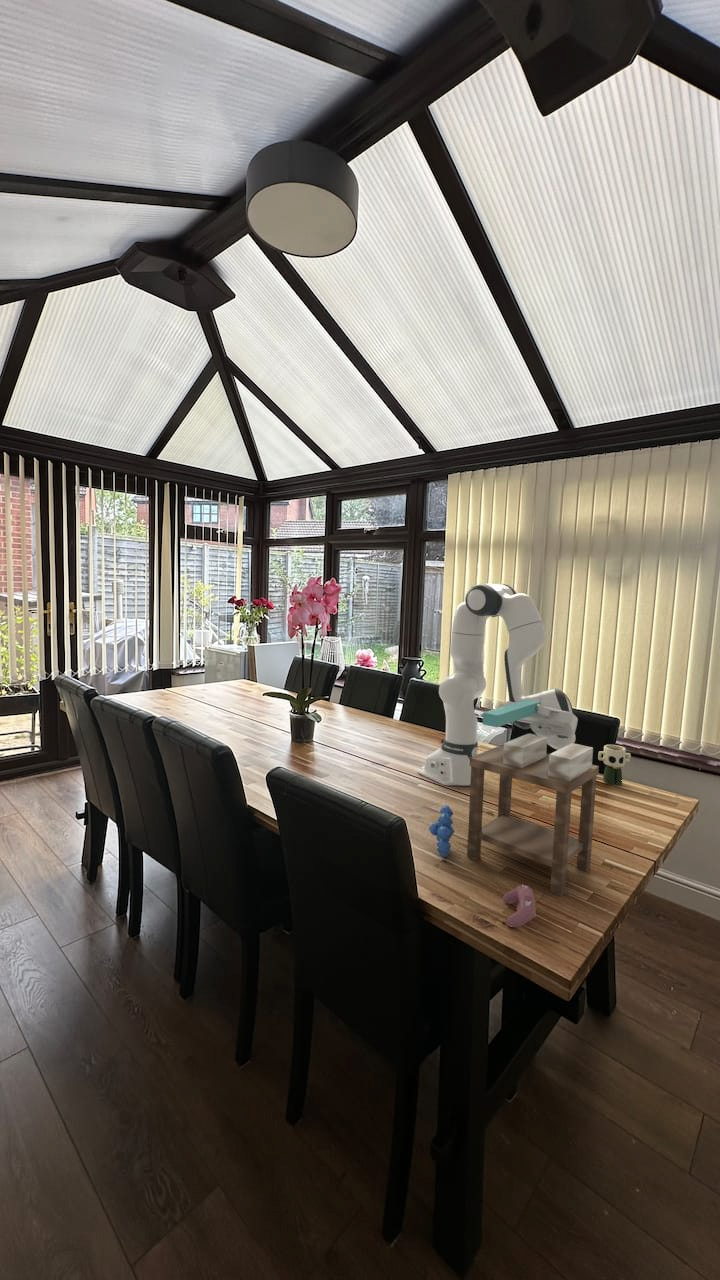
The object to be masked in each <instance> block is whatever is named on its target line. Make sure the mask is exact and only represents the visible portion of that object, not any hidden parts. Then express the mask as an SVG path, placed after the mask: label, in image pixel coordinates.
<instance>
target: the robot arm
mask: <svg viewBox="0 0 720 1280" xmlns="http://www.w3.org/2000/svg"><path fill="white" fill-rule="evenodd" d="M490 617H491V618H495V617H501V618H502V620H503V621H504V623H505V625H506V629H507V632H508V638H509V643H508V648H507V649H506V650H505V651H504V655H503V656H504V669H505V678H506V686H507V693H508V700H507V701H506V702H504V704H503V706H506V705H510V704H513V703H516V702H520V701H523V700H526V699H530V700H535V701H541V705H536V708H535V711H536V712H539V713H536V714H534V715H531V716H528V717H525V718H522V719H519V720H517V721H514V722H512V724H513V725H514V726H517V727H518V728H520V729H523V730H528V729H531V731H532V732H533V733H534V734H535V735H538V736H543V737H547V746H550V747H551V748H553V749H555V750H559V749H561V748H563V747H565V746H567V745H569V744H571V743H575V742H576V734H575V733H576V730H577V726H578V721H579V719H578V717H577V716H576V715H575V714H574V709H573V706H572V703H571V700H570V699H569V697H568V696H567V694H566V693H565V692H563V691H562V690H561V689H558V688H552V689H551V688H550V689H547V690H544V691H540V692H537V693H534V694H529V695H524V692H523V691H524V690H523V684H522V678H521V670H522V667H523V665H524V664H525V663H526V662H527V661H528V660H530V658H532V657H534V656H535V655H536V654H537V653H539V651H540V650H541V649H542V647H544V645H545V643H546V641H547V640H546V639H547V634H546V629H545V626H544V622H543V619H542V617H541V614H540V612H539V610H538V607H537V605H536V603H535V602H534V600H533V598H532V596H531V595H529V594H527V593H517V591H516V589H514V588H513V587H512V586H510V585H508V584H505V583H499V582H498V583H497V582H490V583H489V582H488V583H479V584H475V585H473V586H471V587H470V588H469V589H468V591H467V592H466V594H465V596H464V601H463V602H460V603H459V604H458V605H457V607H456V609H455V613H454V615H453V621H452V629H451V640H450V653H449V654H450V656H451V658H452V662H453V674H452V673H451V674H450V675H448V676H447V677H446V678H444V679H443V680H442V682H440V685H439V687H438V694H439V697H440V699H441V700H442V702H443V709H444V713H445V737H444V738H442V739H441V740H439V742H438V744H439V745H440V744H441V746H440V747H439V748H438V749H436V750H435V751H433V752H432V753H430V754H429V755H427V757H426V759H425V763H424V765H422V766H421V767H420V768H419V769H418V771H417V772H418V774H419V775H421V776H423V777H425V778H427V779H430V780H432V781H435V782H437V783H439V784H441V785H443V786H462V787H463V786H465V787H466V786H470V783H471V766H470V758H471V757H473V756H476V755H478V754H479V753H478V752H479V751H478V750H479V747H478V746H479V742H478V718H477V716H476V712H475V707H474V704H475V703H474V701H475V700H476V699H478V698H479V697H481V695H482V694H483V693H484V691H485V690H486V686H487V681H486V678H485V674H484V673H485V672H484V664H483V663H484V662H483V653H484V652H483V651H484V649H483V648H484V639H485V638H484V637H485V636H484V635H485V625H486V623H487V620H488V618H490Z"/></svg>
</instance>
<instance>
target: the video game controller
mask: <svg viewBox="0 0 720 1280" xmlns="http://www.w3.org/2000/svg"><path fill="white" fill-rule="evenodd" d="M502 900H503V903H505V904H506V903H509V904H508V905H514V904H516V911H515V912H514V913H513V914H512V915H511V914H510V915H509V916H508V917H507V919H506V921H505V924H507V925H508V926H512V927H517V928H520V927H523V926H524V925H525V924H527V923H528V922H531V921H532V920H533V919H534V918H535V917H536V916H537V912H536V910H537V907H536V904H535V894H534V891H533V888H531V887H530V886H528V885H524V884H523V883H522V885H521V884H519V885H518V886H516V887H514V889H512V890H510V891H508V892H506V893H505V894H504V895H503V897H502ZM507 925H506V926H507ZM508 926H507V927H508Z"/></svg>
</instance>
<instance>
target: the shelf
mask: <svg viewBox="0 0 720 1280" xmlns="http://www.w3.org/2000/svg"><path fill="white" fill-rule="evenodd" d="M547 746H548V744H547V737H543V736H538V735H537V734H535V733H534V734H533V733H526V734H524V735H521V736H518V737H516V738H514V739H511V740H509V741H506V742H504V743H503V744H501V745H498V746H496V747H493V748H491V749H488V750H486V751H483V752H480V753H477V755H476V756H473V757H471V758H470V766H471V783H470V785H469V788H470V789H469V808H468V809H469V810H468V811H469V812H468V833H467V851H466V856H467V857H468V858H470V859H472V858H473V860H477V859H479V858H480V857H481V850H482V849H481V847H482V841H484V842H486V843H488V844H491V845H494V846H497V847H499V848H501V849H504V850H507V851H509V852H512V853H513V854H517V855H519V856H522V857H524V858H527V859H530V860H532V861H535V862H537V863H540V864H542V865H545V866H548V867H550V868H551V874H550V876H551V878H550V890H549V891H550V893H552V894H554V895H556V896H559V897H562V896H563V895H564V894H565V893H566V886H567V869H568V863H570V861H572V860H573V858H575V857H576V856H577V857H576V869H579V870H582V871H584V872H588V870H589V869H590V868H591V860H592V858H591V857H592V845H593V833H594V832H593V831H594V817H595V803H596V790H597V776H598V775H599V771H600V769H599V768H600V766H599V765H596V764H593V753H594V747H593V746H587V745H583V744H578V743H575V742H574V743H571V744H569V745H567V746H565V747H563V748H561V749H559V750H558V749H556V750H555V751H553V752H551V753H547V748H548V747H547ZM485 771H488V772H491V773H495V774H498V775H499V787H498V788H499V789H498V803H497V805H498V806H497V808H498V809H497V817H496V818H494V819H493V820H491V821H490V822H488V823H486V824H484V825H483V810H484V809H483V807H484V791H485V789H484V788H485V787H484V786H485ZM513 779H515V780H519V781H521V782H526V783H529V784H531V785H537V786H539V787H543V788H547V789H549V790H554V791H556V796H555V797H556V798H555V812H554V825H553V827H554V829H551V828H547V827H544V826H541V825H538V824H535V823H532V822H529V821H527V820H524V819H521V818H518V817H515V816H512V815H511V807H512V806H511V805H512V790H513V789H512V787H513ZM579 787H581V795H580V810H579V811H580V812H579V813H580V814H579V825H578V838H575V837H573V836H570V824H571V808H572V807H571V806H572V792H573V791H575V790H577V789H578V788H579Z"/></svg>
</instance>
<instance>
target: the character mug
mask: <svg viewBox="0 0 720 1280" xmlns="http://www.w3.org/2000/svg"><path fill="white" fill-rule="evenodd" d="M597 755H598V756H597V759H598V761H603V764H604V765H605V768H604V772H603V777H602V779H603V781H604V782H605V783H608V784H612V785H614V784H615V783H616V785H622V783H623V773H622V772H623V771H622V767H624V766H625V764H626V763H630V762H631V756H632V755H631V753H630V752H627V748H626V747H624V746H621V745H616V744H606V745H604V746H603V751H602V750H601V751H598V754H597ZM602 755H603V757H602ZM626 756H627V758H626ZM621 780H622V781H621Z"/></svg>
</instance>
